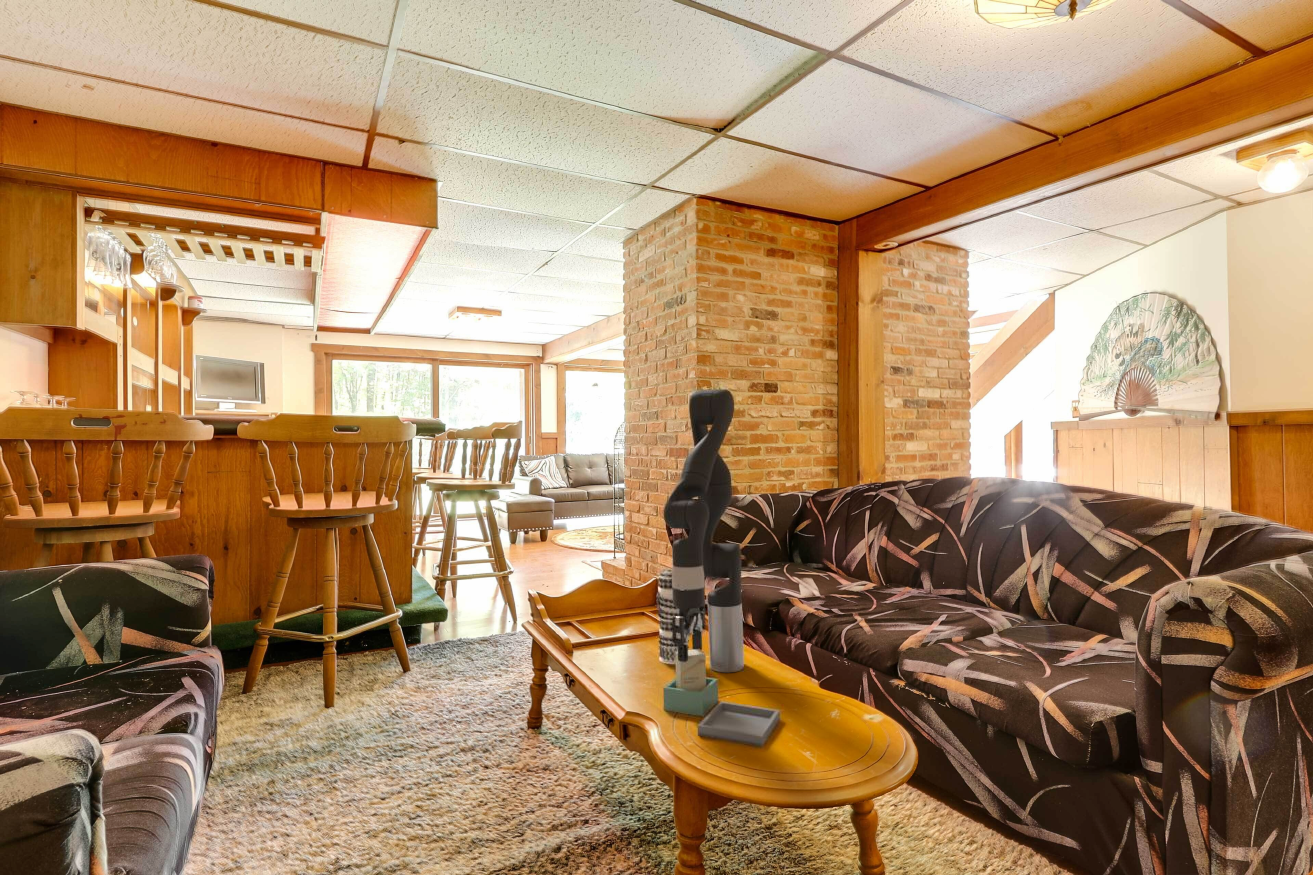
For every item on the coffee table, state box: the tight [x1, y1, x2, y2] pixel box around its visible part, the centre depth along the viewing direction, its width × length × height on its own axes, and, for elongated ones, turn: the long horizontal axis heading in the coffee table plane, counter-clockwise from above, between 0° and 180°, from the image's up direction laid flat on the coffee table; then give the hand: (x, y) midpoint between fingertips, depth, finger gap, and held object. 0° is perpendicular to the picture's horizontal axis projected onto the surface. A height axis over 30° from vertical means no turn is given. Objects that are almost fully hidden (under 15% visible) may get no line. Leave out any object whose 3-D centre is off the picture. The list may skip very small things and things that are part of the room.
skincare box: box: [675, 649, 707, 692], centre depth 145 cm, size 6×4×12 cm
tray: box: [697, 700, 781, 748], centre depth 133 cm, size 14×14×2 cm
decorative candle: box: [656, 568, 690, 665], centre depth 178 cm, size 9×9×25 cm
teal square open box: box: [662, 676, 719, 717], centre depth 145 cm, size 10×10×5 cm
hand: (690, 655), depth 145 cm, fingers open, 8 cm apart
